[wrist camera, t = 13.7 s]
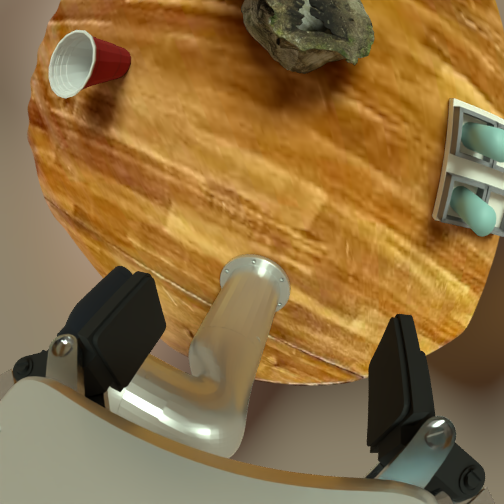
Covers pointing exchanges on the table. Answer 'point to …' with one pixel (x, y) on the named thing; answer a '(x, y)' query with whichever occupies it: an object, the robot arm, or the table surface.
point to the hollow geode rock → (309, 31)
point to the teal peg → (484, 140)
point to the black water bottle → (95, 300)
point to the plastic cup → (85, 63)
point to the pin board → (470, 177)
